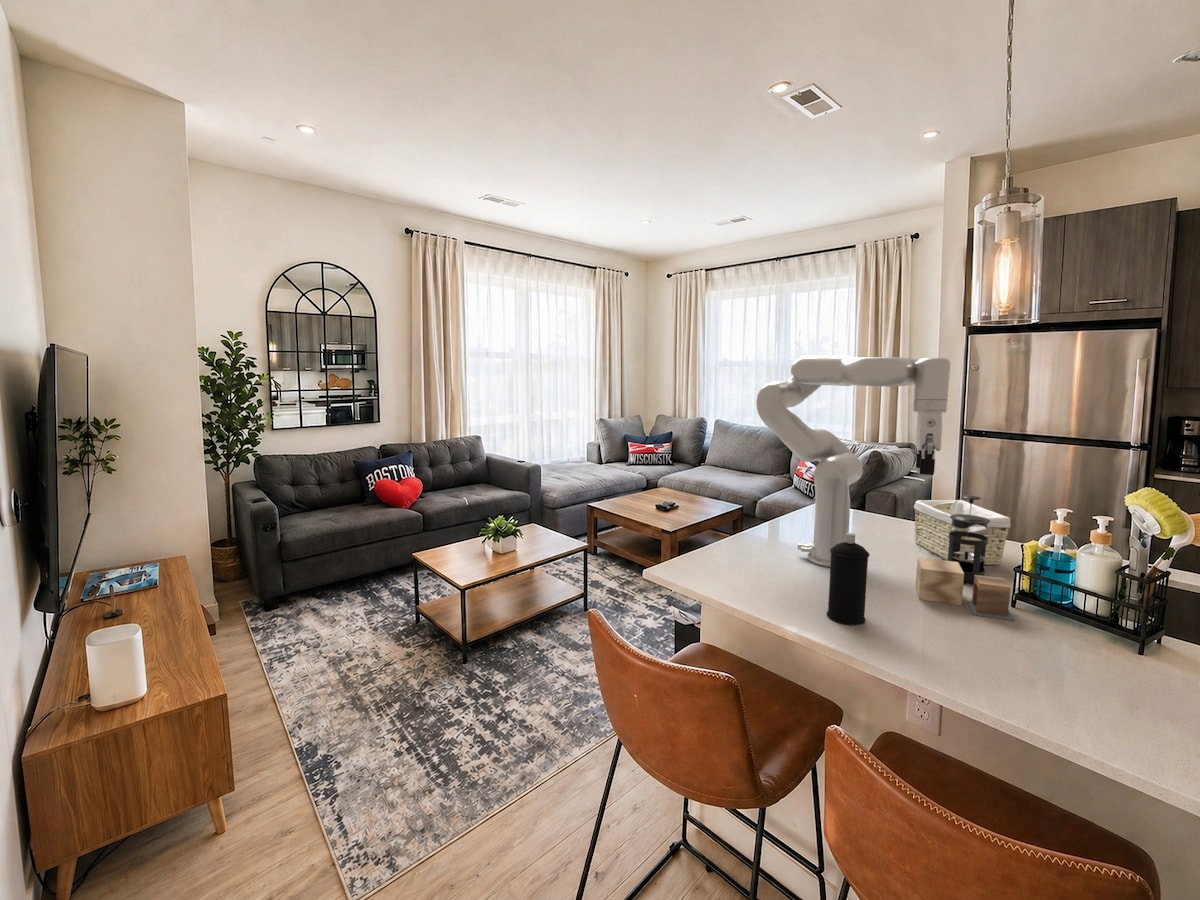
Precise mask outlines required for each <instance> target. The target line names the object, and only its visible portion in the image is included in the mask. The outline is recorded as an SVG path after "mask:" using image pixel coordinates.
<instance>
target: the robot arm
mask: <svg viewBox="0 0 1200 900" xmlns="http://www.w3.org/2000/svg"><path fill="white" fill-rule="evenodd" d="M790 374H791V377H789V378H788V380H779V381H777V380H776V381H771V382H768V383H766V384H764V385H763V386H762V387H761V388H760V389H759V390H758V393H757V396H756V401H755V403H756V411H757V414H758V416H759V418H760V420H761V421H762V422H763V423H764V425H765V426H766V427H767V428H768V429H769V430H770V431H772V433H773V434H775V436H777V437H778V438H779V440H780V441H781V442H782V443H783V444H784V445H785V446H786V447H787V448H788V449H789V450H790V451H791V452H792V453H793V454H794V456H795V457H797V458H798V459H799V460H800V461H802V462H806V463H812V462H815V461H817V462H818V463H817V464H816V467H815V469H814V472H813V483H814V493H815V498H814V499H815V501H814V502H815V503H814V504H815V505H814V523H813V524H814V526H813V541H812V543H808V544H806V543H805V544H804V543H799V542H798V543H797V550H800V552H802V553H806V552H807V557H806V558H807V560H808V561H809V562H811V563H813V564H815V565H817V566H818V565H819V566H822V567H826V568H827V567H829V568H830V565H831V552H830V549H831V548H833V547H834V546H835V545H836V544H838V543H842V542H845V541H846V533H850V519H851V518H850V517H851V515H850V514H851V496H850V489H849V488H850V487H849V486H850V485H852V484H854V483H856V482H858V481H859V480H860V479H861V477H862V475H863V473H864V471H863V470H864V468H863V464H862V461H861V460H860V459H859V456H857V454H855V453H854V452H853V451H852V450H851V449H850V448H849V447H847V446H846V445H845V443H843V442H842V441H841V440H840V439H839V438H838V437H837V436H836V435H834V433H832V432H830V431H829V430H827V429H822V428H814V429H812V428H811V427H809V426H808V425H807V424H806V423H805V422H803V420H802V419H801V418H800V417H799V416H798V415H796V414H795V413H793V412H792V411H790V410H789V408H794V407H796V406H798V405H800V404H802V402H804V401H805V400H806V399H807V398H809V396H811V395H812V394H813V393H814V392H816V391H817V390H818V389H819V388H821V386H837V387H839V386H840V387H841V386H842V387H851V386H861V387H863V386H864V387H865V386H867V387H891V388H892V387H905V386H913V385H914V391H913V403H912V412H915V413H917V416H916V417H917V419H916V429H915V430H916V434H915V435H916V436H915V438H916V439H915V445H916V448H917V453H916V457H915V458H916V459H915V460H916V461H915V467H916V468H917V469H919V472H918V473H919V474H920V475H924V476H925V475H928V476H930V475H931V476H934V475H935V465H936V451H937V452H940V451H941V450H942V435H943V434H942V432H943V431H942V429H943V413H947V408H948V407H947V406H948V396H949V385H950V374H951V361H950V360H949V359H948V358H945V357H925V358H924V357H923V358H911V357H910V358H909V357H899V356H898V357H895V356H894V357H892V356H891V357H884V356H883V357H858V356H857V357H856V356H852V355H803V356H800V357H798V358H796V360H794V361H793V363H792V365H791V368H790Z"/></svg>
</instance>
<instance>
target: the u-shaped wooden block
mask: <svg viewBox="0 0 1200 900" xmlns="http://www.w3.org/2000/svg"><path fill="white" fill-rule="evenodd" d="M972 589H973V590H972V600H971V601H972V603H973V604H976V612H980V613H987V614H994V615H1001V616H1008V610H1010V609H1009V608H1010V607H1009V606H1010V596H1011V586H1010V584H1009V582H1008V581H1007V580H1006V578H1002V577H996V576H995V577H994V576H988V575H987V576H986V575H985V576H980V575H974V585H973V588H972Z"/></svg>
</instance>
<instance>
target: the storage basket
mask: <svg viewBox="0 0 1200 900" xmlns="http://www.w3.org/2000/svg"><path fill="white" fill-rule="evenodd" d="M913 509H914V510H915V511H914V512H915V515H914V516H915V517H914V518H915V520H914V526H915V527H914V531H915V534H914V539H915V540H914V542H915V543H916V544H917V545H918V546H919V547H922V548H923V549H926V551H929V552H931V553H933V554H935V555H936V556H937V557H940V558H941V559H943V560H945V561H948V550H949V539H948V536H949V533H950V532H951V530H958V531H964V532H968V528H958V527H955V526H953V525H952V519H951V518H950V516H951V515H955V514H965V515H969V512H970V503H969V501H965V500H963V499H956V500H955V499H954V500H953V499H942V500H941V499H934V500H933V499H928V500H927V499H925V500H923V499H918V500H916V501H915V503H914V505H913ZM942 510H944V511H942ZM945 510H946V511H945ZM971 515H974V516H979V517H983V518H986V519H989V520H990V523H988V525H987V528H985V527H984V526H982V525H978V524H976V525H972V526H970V530H969V532H972V533H977V534H981V535H984V536H986V537H987V538H988V544H987V545H986V551H985V562H984V565H987V566H991V565H997V566H998V565H1000V564H1001V563H1002V559H1003V555H1004V552H1005V546H1006V541H1007V536H1008V533H1009V528H1011V518H1010V517H1009V516H1005V515H1003V514H1001V513H997V512H995V511H993V510H989V509H987V508H984V507H982V506H978V505H976V504H974V503H973V504H972V508H971ZM961 539H965V540H967V536H961ZM969 540H972V541H981V539H978V538H973V537H969ZM966 546H967V545H965V544H961V545H960V551H966ZM968 552H972V553H974V546H973V545H968ZM969 563H970V562H969Z"/></svg>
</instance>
